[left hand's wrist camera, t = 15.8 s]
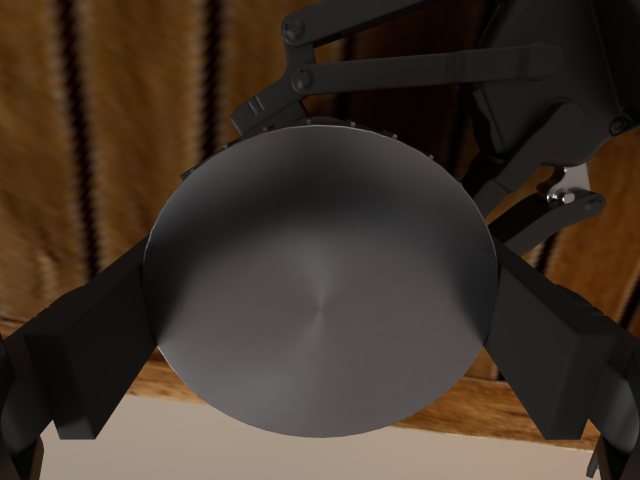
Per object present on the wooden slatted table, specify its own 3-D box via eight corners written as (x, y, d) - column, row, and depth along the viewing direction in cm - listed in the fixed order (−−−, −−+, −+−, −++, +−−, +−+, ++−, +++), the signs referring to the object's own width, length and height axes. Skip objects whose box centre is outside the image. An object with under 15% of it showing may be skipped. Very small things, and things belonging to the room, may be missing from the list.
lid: (384, 42, 9) (401, 27, 8) (516, 318, 13) (552, 358, 11) (102, 227, 11) (58, 253, 9) (278, 428, 14) (272, 478, 12)
